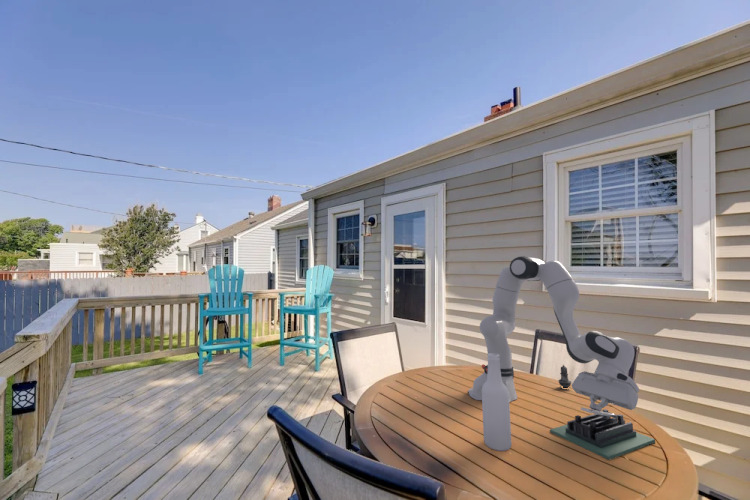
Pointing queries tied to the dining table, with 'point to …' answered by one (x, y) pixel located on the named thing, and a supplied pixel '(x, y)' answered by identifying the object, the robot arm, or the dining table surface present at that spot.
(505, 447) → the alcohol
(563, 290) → the robot arm
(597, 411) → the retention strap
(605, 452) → the circuit board
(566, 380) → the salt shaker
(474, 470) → the dining table surface
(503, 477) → the dining table surface
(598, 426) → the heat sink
